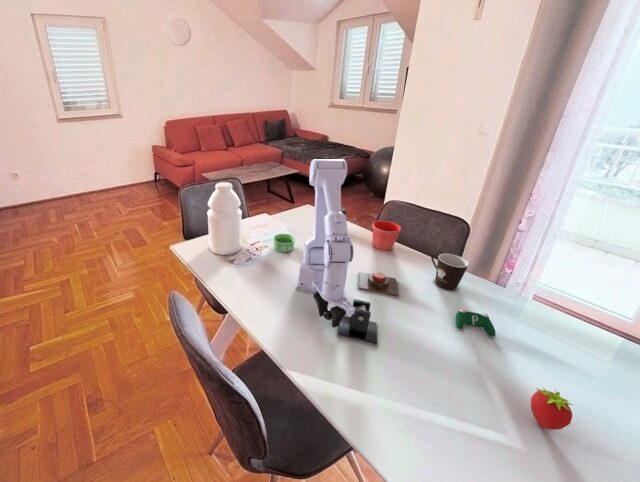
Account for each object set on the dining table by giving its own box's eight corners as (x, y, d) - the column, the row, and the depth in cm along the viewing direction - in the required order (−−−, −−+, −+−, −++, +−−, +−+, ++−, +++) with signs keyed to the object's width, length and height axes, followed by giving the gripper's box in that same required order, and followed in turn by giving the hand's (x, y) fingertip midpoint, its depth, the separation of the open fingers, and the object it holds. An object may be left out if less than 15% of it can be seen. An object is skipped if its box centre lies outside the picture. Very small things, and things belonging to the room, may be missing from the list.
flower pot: (401, 252, 129) (406, 231, 125) (374, 252, 129) (378, 231, 125) (390, 240, 138) (394, 220, 135) (365, 240, 139) (368, 220, 135)
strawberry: (521, 430, 63) (539, 396, 59) (522, 403, 68) (539, 371, 64) (561, 451, 60) (584, 416, 56) (559, 421, 65) (580, 388, 61)
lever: (324, 322, 90) (321, 314, 89) (325, 315, 92) (322, 307, 91) (367, 319, 84) (364, 309, 83) (367, 312, 87) (364, 303, 86)
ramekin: (273, 242, 137) (273, 233, 135) (294, 243, 136) (294, 234, 134) (272, 252, 129) (272, 242, 127) (294, 253, 128) (295, 244, 126)
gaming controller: (490, 337, 88) (489, 315, 91) (496, 336, 85) (495, 314, 87) (452, 329, 91) (452, 309, 93) (457, 328, 88) (457, 307, 90)
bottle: (227, 236, 142) (226, 177, 131) (248, 247, 133) (249, 184, 122) (202, 246, 134) (198, 184, 122) (223, 259, 124) (221, 192, 113)
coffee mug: (464, 294, 104) (473, 268, 100) (436, 291, 105) (444, 265, 101) (450, 274, 114) (458, 250, 110) (424, 272, 116) (431, 248, 112)
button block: (358, 290, 106) (359, 282, 104) (359, 274, 114) (360, 267, 113) (397, 298, 102) (399, 290, 101) (395, 281, 110) (396, 274, 109)
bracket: (337, 336, 87) (341, 311, 83) (339, 317, 94) (343, 293, 90) (376, 346, 83) (382, 320, 80) (375, 325, 90) (381, 301, 87)
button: (373, 281, 106) (373, 276, 105) (372, 275, 109) (373, 271, 108) (384, 283, 105) (385, 278, 104) (384, 277, 108) (384, 273, 107)
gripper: (366, 290, 81) (358, 331, 86) (326, 264, 92) (322, 301, 98) (346, 298, 77) (339, 340, 83) (307, 270, 89) (304, 309, 94)
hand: (328, 320), depth 90 cm, fingers open, 5 cm apart
